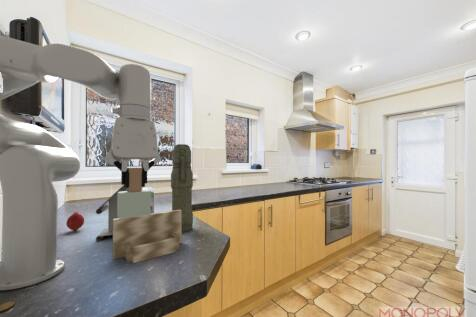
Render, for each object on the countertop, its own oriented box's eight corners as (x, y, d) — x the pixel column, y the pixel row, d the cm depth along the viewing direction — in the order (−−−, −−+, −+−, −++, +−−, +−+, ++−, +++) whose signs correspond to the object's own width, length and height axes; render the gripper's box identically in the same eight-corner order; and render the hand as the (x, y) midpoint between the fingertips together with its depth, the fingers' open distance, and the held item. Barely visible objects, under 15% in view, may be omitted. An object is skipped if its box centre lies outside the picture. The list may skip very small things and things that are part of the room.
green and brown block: (119, 218, 49) (120, 168, 49) (117, 215, 52) (117, 167, 53) (150, 214, 53) (151, 167, 53) (146, 211, 56) (147, 167, 57)
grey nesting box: (153, 228, 88) (153, 181, 89) (151, 235, 79) (152, 182, 80) (103, 233, 82) (103, 182, 83) (95, 241, 73) (96, 184, 74)
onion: (83, 231, 84) (84, 211, 85) (65, 234, 81) (65, 213, 81) (84, 227, 89) (84, 209, 89) (67, 230, 86) (67, 210, 86)
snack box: (142, 215, 111) (142, 187, 111) (153, 214, 113) (153, 186, 113) (140, 226, 91) (140, 191, 92) (154, 224, 93) (154, 191, 94)
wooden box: (116, 267, 54) (116, 224, 54) (112, 257, 60) (113, 218, 60) (189, 248, 66) (189, 213, 66) (179, 241, 72) (179, 209, 72)
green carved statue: (173, 235, 78) (173, 143, 80) (168, 227, 89) (169, 145, 90) (196, 231, 82) (196, 143, 83) (189, 224, 93) (189, 146, 94)
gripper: (97, 106, 46) (96, 191, 45) (171, 116, 55) (171, 186, 55) (96, 113, 52) (94, 188, 51) (162, 121, 61) (162, 184, 61)
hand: (134, 186), depth 53 cm, fingers closed on green and brown block, 3 cm apart
